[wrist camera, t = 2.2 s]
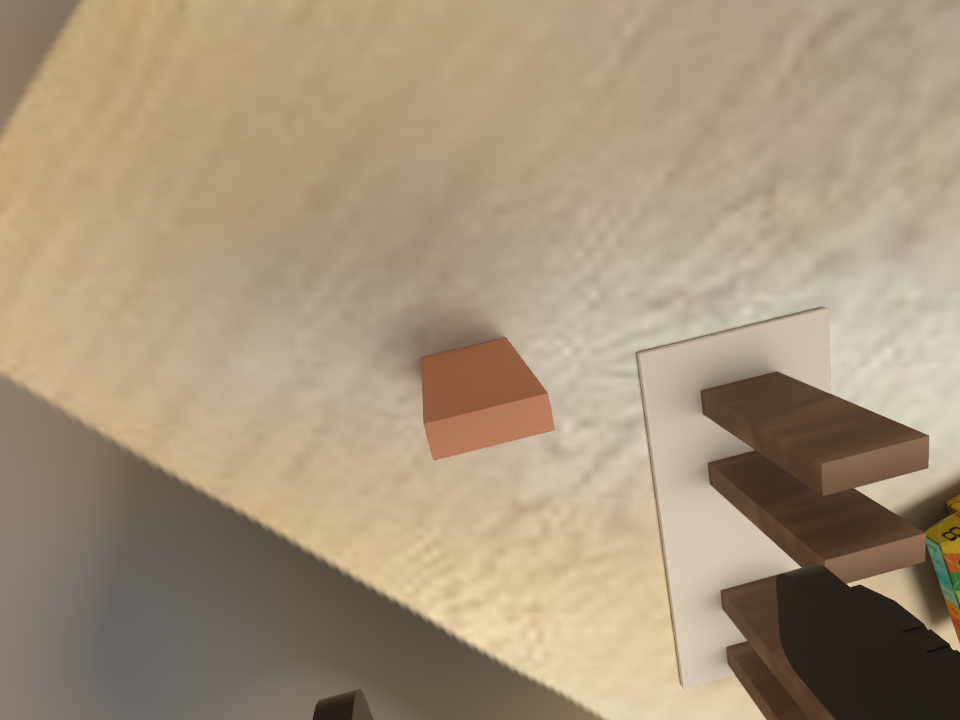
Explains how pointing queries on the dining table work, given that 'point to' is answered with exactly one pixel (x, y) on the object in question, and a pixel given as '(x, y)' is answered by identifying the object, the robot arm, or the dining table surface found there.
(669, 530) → the mat
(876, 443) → the domino
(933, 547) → the puzzle game
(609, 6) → the dining table surface
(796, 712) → the domino
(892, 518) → the domino
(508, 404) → the domino
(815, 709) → the domino
